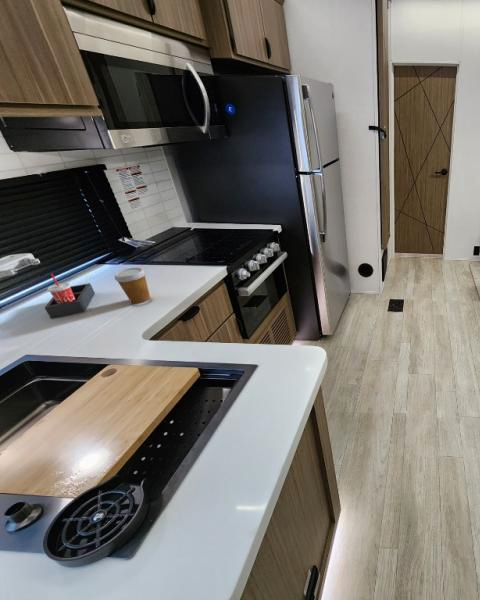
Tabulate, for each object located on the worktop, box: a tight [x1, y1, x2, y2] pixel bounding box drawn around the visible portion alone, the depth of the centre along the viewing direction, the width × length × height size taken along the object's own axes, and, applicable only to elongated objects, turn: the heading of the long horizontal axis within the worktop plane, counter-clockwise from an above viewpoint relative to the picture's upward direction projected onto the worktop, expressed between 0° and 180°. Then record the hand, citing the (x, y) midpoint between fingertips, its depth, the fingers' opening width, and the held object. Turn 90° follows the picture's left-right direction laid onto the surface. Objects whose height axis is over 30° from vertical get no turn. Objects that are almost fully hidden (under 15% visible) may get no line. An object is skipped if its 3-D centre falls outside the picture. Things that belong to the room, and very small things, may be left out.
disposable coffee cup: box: [114, 267, 151, 304], centre depth 128 cm, size 10×10×12 cm
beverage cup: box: [46, 273, 76, 304], centre depth 121 cm, size 6×6×14 cm
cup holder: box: [44, 282, 96, 320], centre depth 127 cm, size 10×18×5 cm, turn 30°
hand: (26, 266), depth 115 cm, fingers open, 8 cm apart
